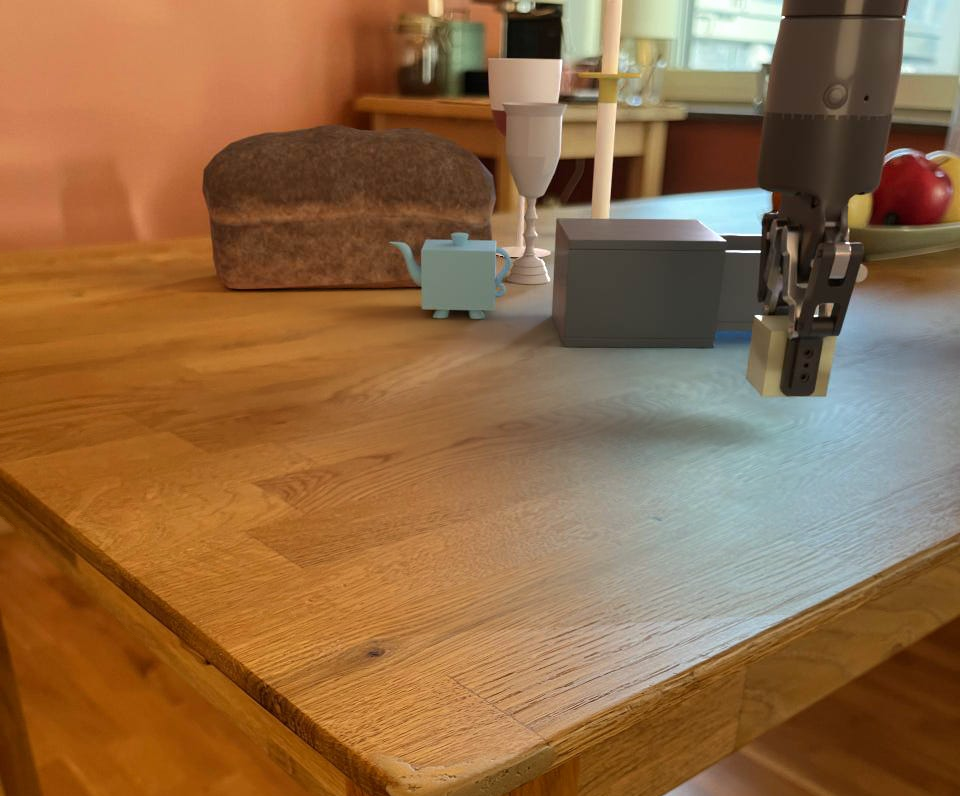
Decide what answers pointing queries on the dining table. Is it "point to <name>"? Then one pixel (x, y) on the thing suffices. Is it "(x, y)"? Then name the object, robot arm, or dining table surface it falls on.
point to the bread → (339, 205)
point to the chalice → (532, 171)
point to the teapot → (457, 274)
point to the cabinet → (637, 282)
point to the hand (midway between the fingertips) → (785, 382)
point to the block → (780, 357)
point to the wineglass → (521, 85)
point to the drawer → (744, 283)
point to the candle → (607, 109)
